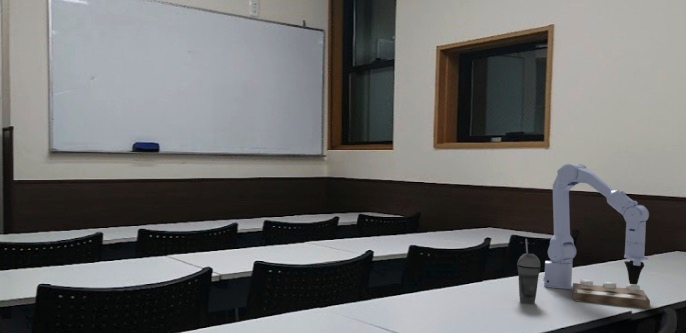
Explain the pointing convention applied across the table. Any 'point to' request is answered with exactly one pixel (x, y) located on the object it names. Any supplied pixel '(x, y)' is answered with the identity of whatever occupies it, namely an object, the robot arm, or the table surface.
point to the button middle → (609, 285)
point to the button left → (586, 283)
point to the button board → (610, 296)
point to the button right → (632, 287)
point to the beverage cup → (528, 276)
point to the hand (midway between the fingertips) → (633, 284)
